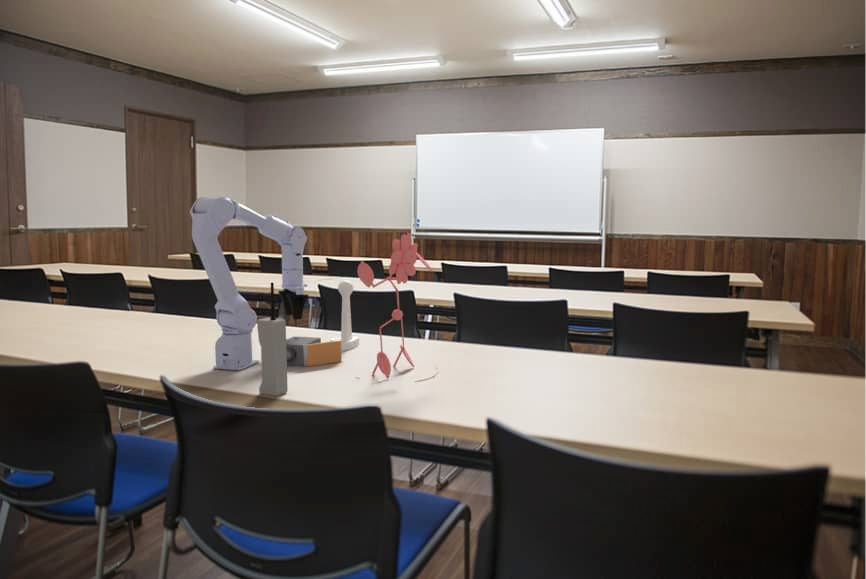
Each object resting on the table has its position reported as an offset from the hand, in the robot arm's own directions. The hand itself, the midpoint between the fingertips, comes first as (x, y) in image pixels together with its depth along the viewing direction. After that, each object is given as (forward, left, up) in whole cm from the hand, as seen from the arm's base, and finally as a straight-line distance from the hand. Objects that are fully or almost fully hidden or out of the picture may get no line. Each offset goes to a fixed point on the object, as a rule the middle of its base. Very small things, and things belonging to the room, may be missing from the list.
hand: (293, 317), depth 182 cm
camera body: (-8, -6, -10) cm, 14 cm away
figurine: (-13, -38, -11) cm, 41 cm away
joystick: (+11, -10, -11) cm, 18 cm away
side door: (-10, -14, -10) cm, 20 cm away
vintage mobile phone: (-37, -15, -11) cm, 41 cm away
